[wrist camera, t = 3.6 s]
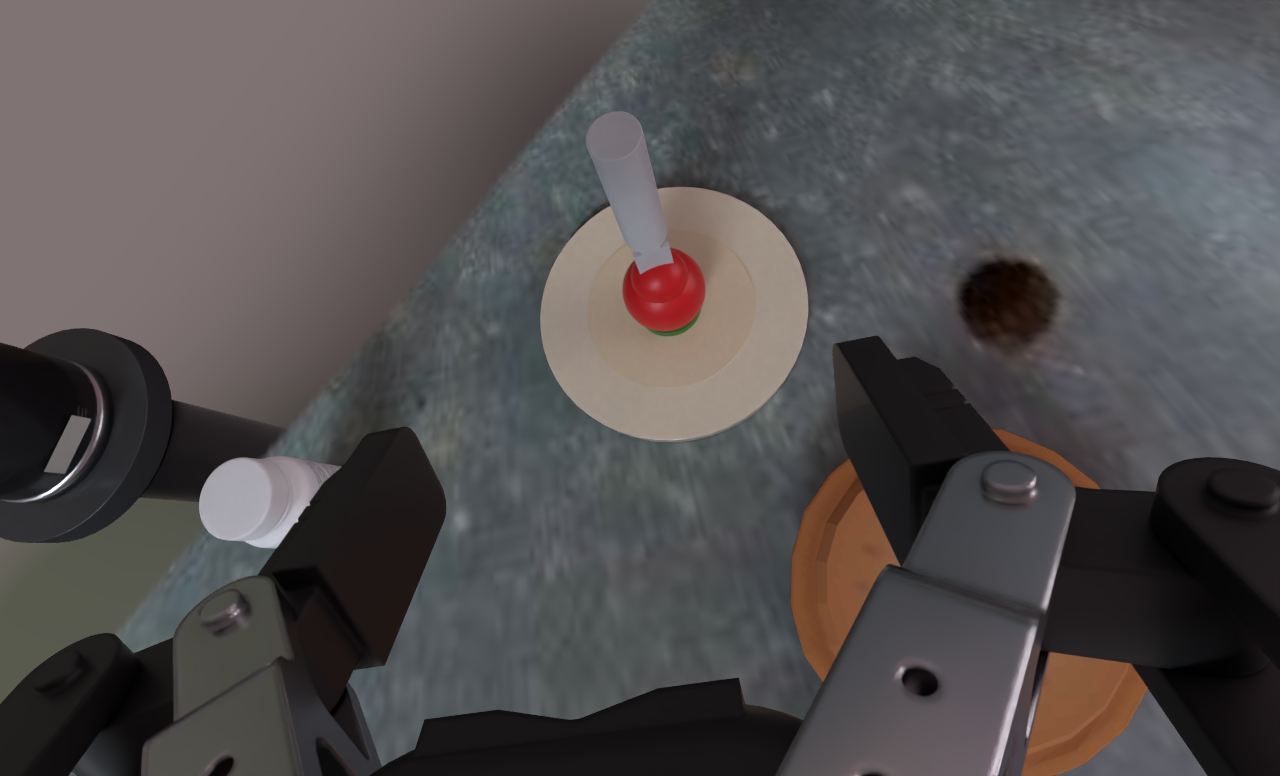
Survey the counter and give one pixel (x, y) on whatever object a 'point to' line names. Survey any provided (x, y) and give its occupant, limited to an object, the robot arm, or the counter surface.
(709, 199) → the plate
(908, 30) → the counter surface
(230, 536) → the pill bottle
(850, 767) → the robot arm
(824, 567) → the pie
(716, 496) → the counter surface
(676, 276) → the forked strawberry
